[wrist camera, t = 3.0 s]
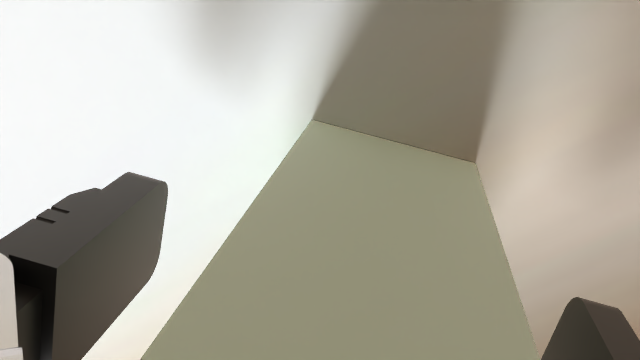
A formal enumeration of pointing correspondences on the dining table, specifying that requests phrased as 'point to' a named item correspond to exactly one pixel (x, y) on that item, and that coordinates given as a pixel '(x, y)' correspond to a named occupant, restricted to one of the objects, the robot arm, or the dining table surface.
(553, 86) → the dining table surface
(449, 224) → the green peg
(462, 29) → the dining table surface
